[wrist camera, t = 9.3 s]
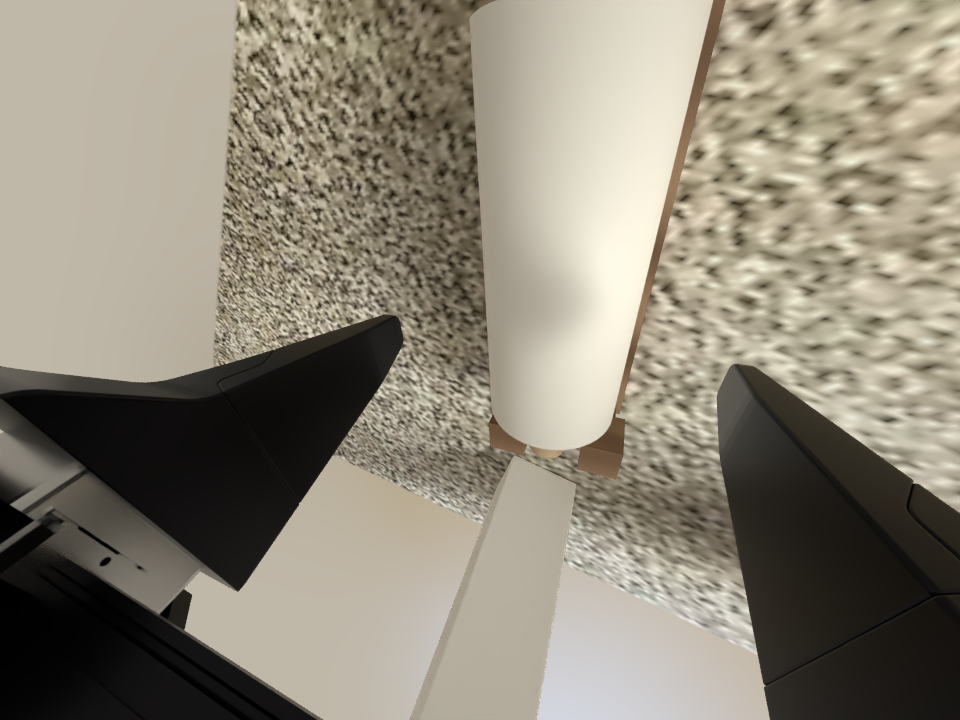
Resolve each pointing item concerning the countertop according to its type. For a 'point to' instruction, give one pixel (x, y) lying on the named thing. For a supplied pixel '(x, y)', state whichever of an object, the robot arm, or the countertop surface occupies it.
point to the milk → (503, 605)
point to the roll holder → (609, 447)
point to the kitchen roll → (573, 195)
